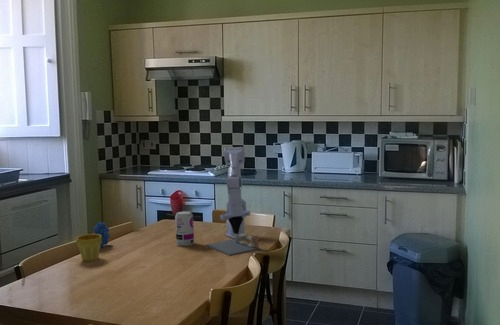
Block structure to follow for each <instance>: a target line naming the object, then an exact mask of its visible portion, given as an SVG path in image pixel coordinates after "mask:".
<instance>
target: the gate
mask: <svg viewBox="0 0 500 325" xmlns="http://www.w3.org/2000/svg"><path fill="white" fill-rule="evenodd" d="M245 234H246V233H245ZM245 234H242V233H239V234H238V236H239V243H241V244H244V245H247V246H250V247H255V237H253V235H249V234H247V235H245ZM245 240H246V241H245Z"/></svg>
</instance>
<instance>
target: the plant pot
mask: <svg viewBox="0 0 500 325" xmlns="http://www.w3.org/2000/svg"><path fill="white" fill-rule="evenodd" d="M75 240H76V241H75V242H76V246H77V247H78V250H79V253H80V256H81V260H82V261H84V262H91V261H95V260H98V259H99V256H100V248H101V247H100V244H102V236H101V235H99V234H93V233H88V234H82V235H79V236H77V237H76V239H75Z"/></svg>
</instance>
